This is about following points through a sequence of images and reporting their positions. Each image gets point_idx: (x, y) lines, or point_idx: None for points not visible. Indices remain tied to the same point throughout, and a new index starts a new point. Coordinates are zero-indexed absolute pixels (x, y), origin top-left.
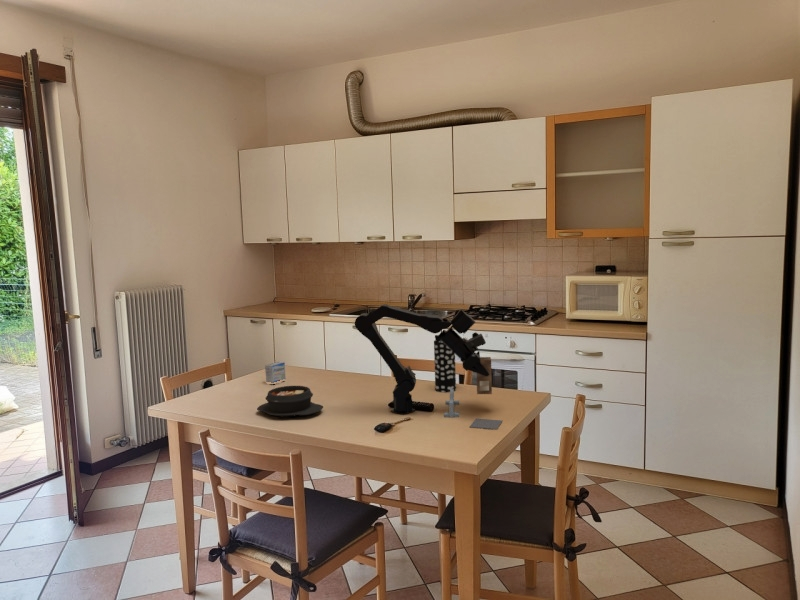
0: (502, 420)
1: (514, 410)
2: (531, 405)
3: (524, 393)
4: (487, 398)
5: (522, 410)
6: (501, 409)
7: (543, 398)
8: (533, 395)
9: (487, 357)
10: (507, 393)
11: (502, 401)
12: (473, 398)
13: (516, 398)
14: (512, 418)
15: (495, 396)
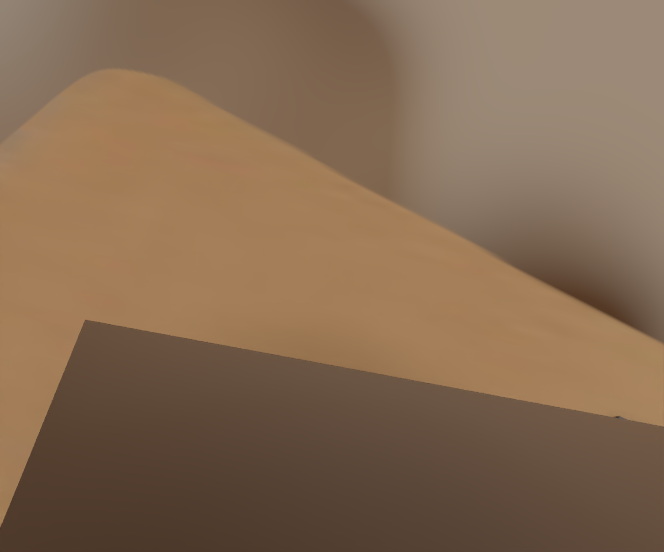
0: (620, 417)
1: (373, 280)
2: (293, 168)
3: (52, 149)
4: (52, 387)
5: (381, 236)
6: (335, 355)
7: (183, 87)
8: (110, 117)
9: (103, 460)
10: (5, 235)
11: (160, 305)
12: (5, 495)
13: (129, 211)
14: (546, 334)
15: (32, 321)
